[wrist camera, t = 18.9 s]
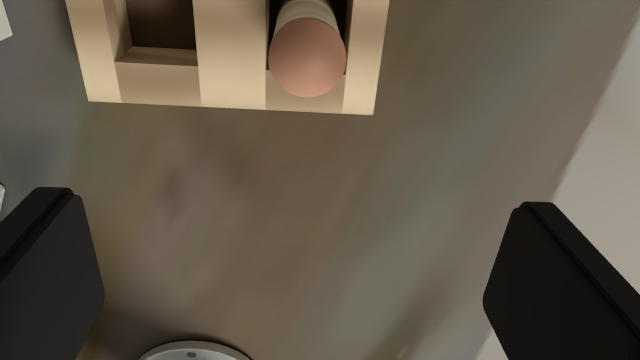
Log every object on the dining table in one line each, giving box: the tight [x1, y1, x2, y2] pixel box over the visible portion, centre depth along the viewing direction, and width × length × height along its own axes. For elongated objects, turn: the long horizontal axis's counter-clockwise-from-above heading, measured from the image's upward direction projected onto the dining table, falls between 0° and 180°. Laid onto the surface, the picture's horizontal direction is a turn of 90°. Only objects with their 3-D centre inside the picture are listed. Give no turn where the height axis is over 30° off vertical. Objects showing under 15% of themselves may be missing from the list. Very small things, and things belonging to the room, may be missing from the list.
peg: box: [268, 0, 346, 97], centre depth 22 cm, size 3×3×8 cm
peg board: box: [65, 0, 389, 115], centre depth 24 cm, size 9×16×3 cm, turn 86°
